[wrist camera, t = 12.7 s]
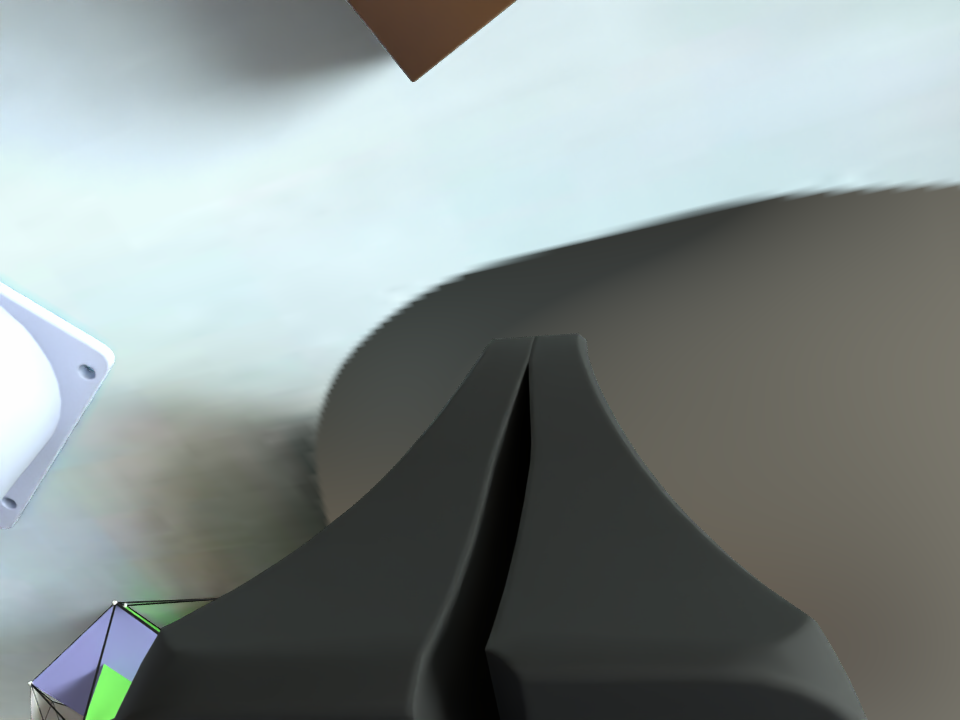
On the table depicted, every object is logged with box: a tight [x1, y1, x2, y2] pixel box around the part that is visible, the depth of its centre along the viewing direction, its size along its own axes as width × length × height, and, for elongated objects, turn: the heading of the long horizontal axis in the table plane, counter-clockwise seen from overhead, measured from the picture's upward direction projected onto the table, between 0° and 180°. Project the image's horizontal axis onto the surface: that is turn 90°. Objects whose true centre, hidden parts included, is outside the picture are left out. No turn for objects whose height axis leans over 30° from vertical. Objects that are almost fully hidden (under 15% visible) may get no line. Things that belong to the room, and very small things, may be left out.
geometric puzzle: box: [28, 598, 218, 720], centre depth 30 cm, size 7×7×8 cm
